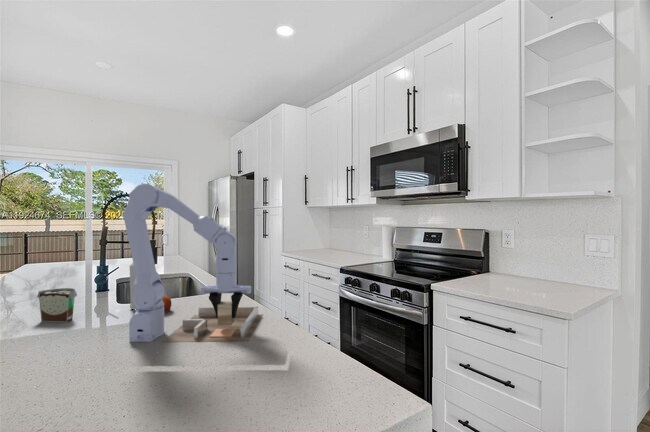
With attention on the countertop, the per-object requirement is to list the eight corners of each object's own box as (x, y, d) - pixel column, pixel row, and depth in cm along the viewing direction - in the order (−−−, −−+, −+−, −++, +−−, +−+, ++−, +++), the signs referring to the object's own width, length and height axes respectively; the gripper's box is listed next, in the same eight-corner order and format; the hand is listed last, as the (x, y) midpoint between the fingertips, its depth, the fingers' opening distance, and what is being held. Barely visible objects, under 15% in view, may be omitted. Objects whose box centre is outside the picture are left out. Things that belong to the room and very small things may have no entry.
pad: (230, 337, 93) (230, 336, 93) (209, 337, 93) (209, 336, 93) (236, 329, 99) (236, 328, 99) (216, 330, 99) (216, 329, 99)
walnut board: (248, 344, 90) (248, 341, 90) (161, 345, 90) (161, 342, 90) (263, 317, 114) (263, 314, 114) (194, 317, 114) (194, 315, 114)
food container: (86, 316, 115) (86, 288, 115) (71, 322, 109) (71, 292, 109) (54, 315, 116) (54, 287, 116) (37, 321, 110) (37, 291, 110)
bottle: (138, 310, 122) (138, 243, 122) (126, 310, 123) (126, 243, 123) (148, 306, 127) (148, 242, 127) (137, 306, 128) (136, 242, 128)
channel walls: (244, 338, 92) (244, 327, 92) (172, 339, 92) (172, 328, 92) (258, 315, 113) (258, 306, 113) (199, 315, 113) (199, 307, 113)
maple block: (231, 325, 97) (231, 304, 97) (217, 325, 97) (217, 304, 97) (234, 320, 101) (234, 301, 101) (221, 320, 101) (221, 301, 101)
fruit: (170, 314, 113) (158, 294, 113) (150, 326, 113) (138, 306, 113) (180, 307, 121) (169, 288, 121) (162, 318, 121) (151, 299, 121)
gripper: (253, 269, 103) (253, 313, 103) (206, 270, 103) (206, 313, 103) (248, 273, 96) (248, 320, 96) (198, 274, 96) (198, 320, 96)
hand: (226, 317), depth 99 cm, fingers closed on maple block, 4 cm apart
